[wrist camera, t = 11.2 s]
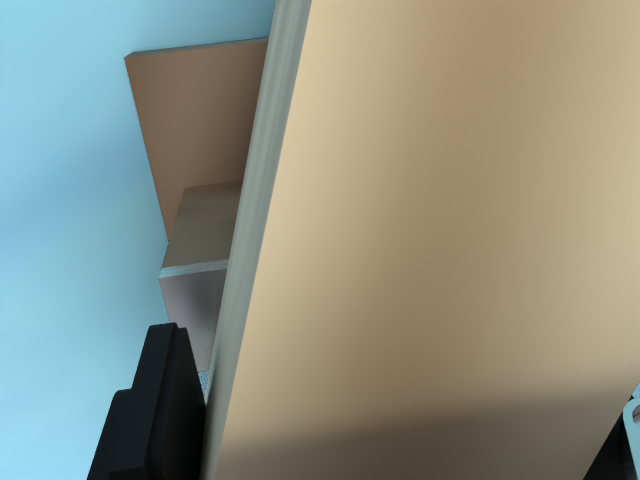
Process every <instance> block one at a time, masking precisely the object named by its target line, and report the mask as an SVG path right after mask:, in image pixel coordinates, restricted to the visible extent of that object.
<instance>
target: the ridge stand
mask: <svg viewBox="0 0 640 480" xmlns="http://www.w3.org/2000/svg"><path fill="white" fill-rule="evenodd" d="M268 41H269V37H266V38H257V39H248V40H240V41H231V42H222V43H213V44H204V45H195V46H186V47H177V48H168V49H159V50H150V51H141V52H133V53H131V54H129V55H128V56H126V57H124V59H125V64H126V68H127V72H128V76H129V80H130V84H131V88H132V92H133V97H134V101H135V105H136V109H137V113H138V117H139V121H140V126H141V130H142V134H143V138H144V142H145V146H146V150H147V154H148V159H149V163H150V167H151V171H152V175H153V179H154V183H155V188H156V192H157V196H158V200H159V204H160V208H161V212H162V216H163V221H164V225H165V229H166V233H167V237H168V241H169V244H168V247H167V251H166V254H165V258H164V261H163V264H162V268H161V271H160V274H159V282H160V286H161V290H162V294H163V297H164V301H165V305H166V309H167V313H168V317H169V321H170V323H172V322H176V323H177V325H178V328H183V327H186V328H187V331H188V334H189V339H190V343H191V347H192V351H193V355H194V359H195V363H196V367H197V371H198V372H204V371H209V368H210V362H211V357H212V351H213V346H214V340H215V334H216V329H217V323H218V318H219V312H220V307H221V301H222V296H223V290H224V285H225V279H226V274H227V268H228V262H229V257H230V251H231V246H232V240H233V235H234V229H235V224H236V218H237V213H238V207H239V202H240V196H241V190H242V185H243V179H244V174H245V168H246V163H247V157H248V152H249V146H250V141H251V135H252V129H253V124H254V118H255V113H256V107H257V102H258V96H259V91H260V85H261V80H262V74H263V69H264V63H265V57H266V52H267V46H268Z"/></svg>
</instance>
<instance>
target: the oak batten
mask: <svg viewBox="0 0 640 480" xmlns="http://www.w3.org/2000/svg"><path fill="white" fill-rule="evenodd" d="M639 381H640V0H276V2H275V8H274V13H273V19H272V24H271V30H270V35H269V41H268V46H267V52H266V57H265V63H264V69H263V74H262V80H261V85H260V91H259V96H258V102H257V107H256V113H255V118H254V124H253V129H252V135H251V141H250V146H249V152H248V157H247V163H246V168H245V174H244V179H243V185H242V190H241V196H240V202H239V207H238V213H237V218H236V224H235V229H234V235H233V240H232V246H231V251H230V257H229V262H228V268H227V274H226V279H225V285H224V290H223V296H222V301H221V307H220V312H219V318H218V323H217V329H216V334H215V340H214V346H213V351H212V357H211V362H210V368H209V373H208V379H207V384H206V390H205V395H204V400H205V404H206V413H205V424H204V434H203V445H202V455H201V466H200V477H199V480H583V478H584V476H585V475H586V473H587V471H588V469H589V468H590V466H591V464H592V463H593V461H594V459H595V457H596V456H597V454H598V452H599V450H600V449H601V447H602V445H603V444H604V442H605V440H606V438H607V437H608V435H609V433H610V432H611V430H612V428H613V426H614V425H615V423H616V421H617V419H618V418H619V416H620V414H621V413H622V411H623V409H624V407H625V406H626V404H627V402H628V400H629V399H630V397H631V395H632V394H633V392H634V390H635V388H636V387H637V385H638V383H639Z"/></svg>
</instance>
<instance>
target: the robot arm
mask: <svg viewBox="0 0 640 480" xmlns="http://www.w3.org/2000/svg"><path fill="white" fill-rule="evenodd" d="M205 413H206V404H205V400H204V396H203V392H202V388H201V384H200V379H199V375H198V371H197V367H196V363H195V359H194V355H193V351H192V347H191V343H190V339H189V334H188V331H187V328H186V327H183V328H178V325H177V323H176V322H172V323H165V324H159V325H152V326H149V329H148V332H147V335H146V339H145V342H144V346H143V349H142V353H141V356H140V360H139V363H138V367H137V371H136V374H135V378H134V381H133V385H132V388H131V389H125V390H118V391H117V392H116V393H115V395H114V397H113V399H112V402H111V405H110V409H109V412H108V415H107V418H106V421H105V424H104V427H103V430H102V433H101V437H100V440H99V443H98V446H97V449H96V452H95V455H94V458H93V461H92V465H91V468H90V471H89V474H88V477H87V480H199V477H200V466H201V455H202V445H203V434H204V424H205ZM583 480H640V397H636V398H634V397H633V396H632V395H631V397H630V399H629V400H628V402H627V404H626V406H625V407H624V409H623V411H622V413H621V414H620V416H619V418H618V419H617V421H616V423H615V425H614V426H613V428H612V430H611V432H610V433H609V435H608V437H607V438H606V440H605V442H604V444H603V445H602V447H601V449H600V450H599V452H598V454H597V456H596V457H595V459H594V461H593V463H592V464H591V466H590V468H589V469H588V471H587V473H586V475H585V476H584V478H583Z"/></svg>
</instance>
